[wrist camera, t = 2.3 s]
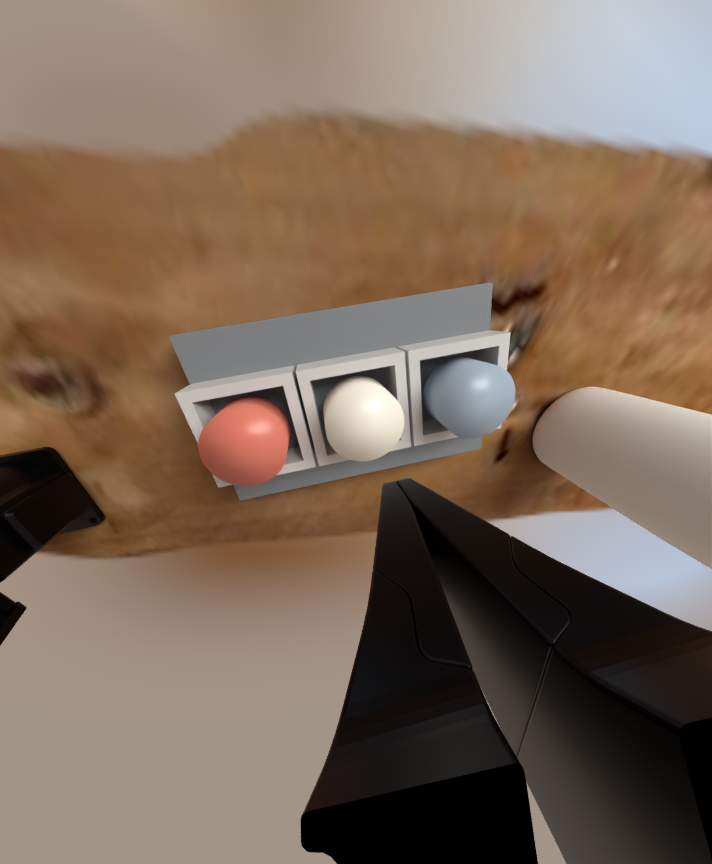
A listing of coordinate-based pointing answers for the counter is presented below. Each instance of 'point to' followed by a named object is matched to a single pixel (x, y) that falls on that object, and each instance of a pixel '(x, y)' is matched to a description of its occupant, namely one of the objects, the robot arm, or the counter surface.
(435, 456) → the console
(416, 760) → the robot arm
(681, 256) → the counter surface
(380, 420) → the button ivory
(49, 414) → the counter surface
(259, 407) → the button red
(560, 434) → the milk bottle
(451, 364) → the button blue
